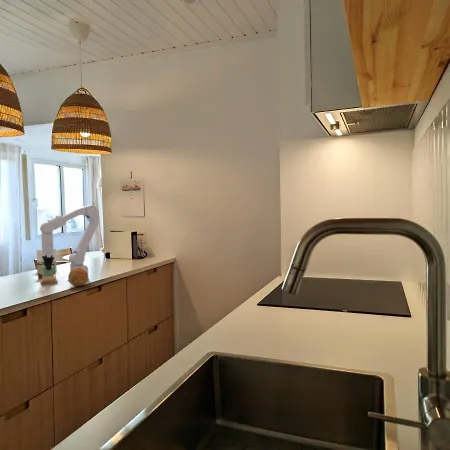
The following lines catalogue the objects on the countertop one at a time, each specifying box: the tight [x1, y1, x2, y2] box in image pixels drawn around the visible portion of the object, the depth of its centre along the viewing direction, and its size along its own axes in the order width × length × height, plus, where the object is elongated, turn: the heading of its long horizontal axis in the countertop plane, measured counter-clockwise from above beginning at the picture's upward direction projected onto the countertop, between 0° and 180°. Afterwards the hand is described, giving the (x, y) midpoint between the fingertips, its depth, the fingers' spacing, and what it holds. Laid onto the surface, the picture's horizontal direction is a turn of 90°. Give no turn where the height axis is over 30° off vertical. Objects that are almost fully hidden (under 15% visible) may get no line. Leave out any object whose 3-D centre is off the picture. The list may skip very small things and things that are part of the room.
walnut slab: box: [39, 278, 59, 286], centre depth 215 cm, size 8×8×2 cm
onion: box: [67, 267, 89, 287], centre depth 205 cm, size 10×10×10 cm
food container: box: [35, 261, 58, 280], centre depth 232 cm, size 12×6×10 cm, turn 84°
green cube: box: [42, 266, 54, 277], centre depth 215 cm, size 5×5×5 cm
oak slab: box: [41, 273, 57, 282], centre depth 215 cm, size 6×6×2 cm
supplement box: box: [36, 248, 58, 272], centre depth 261 cm, size 9×9×15 cm
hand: (48, 269), depth 215 cm, fingers open, 6 cm apart
